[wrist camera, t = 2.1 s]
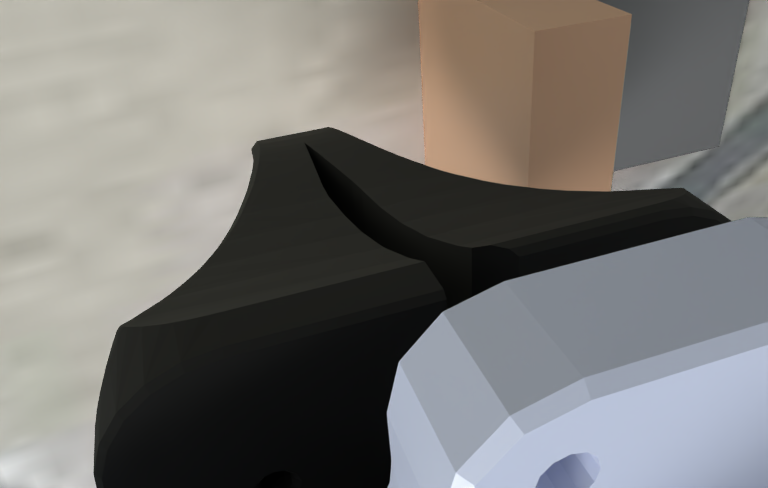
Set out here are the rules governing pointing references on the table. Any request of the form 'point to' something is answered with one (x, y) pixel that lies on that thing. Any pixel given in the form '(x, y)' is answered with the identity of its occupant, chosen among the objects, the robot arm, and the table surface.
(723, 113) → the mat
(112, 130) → the table surface
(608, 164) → the tile
